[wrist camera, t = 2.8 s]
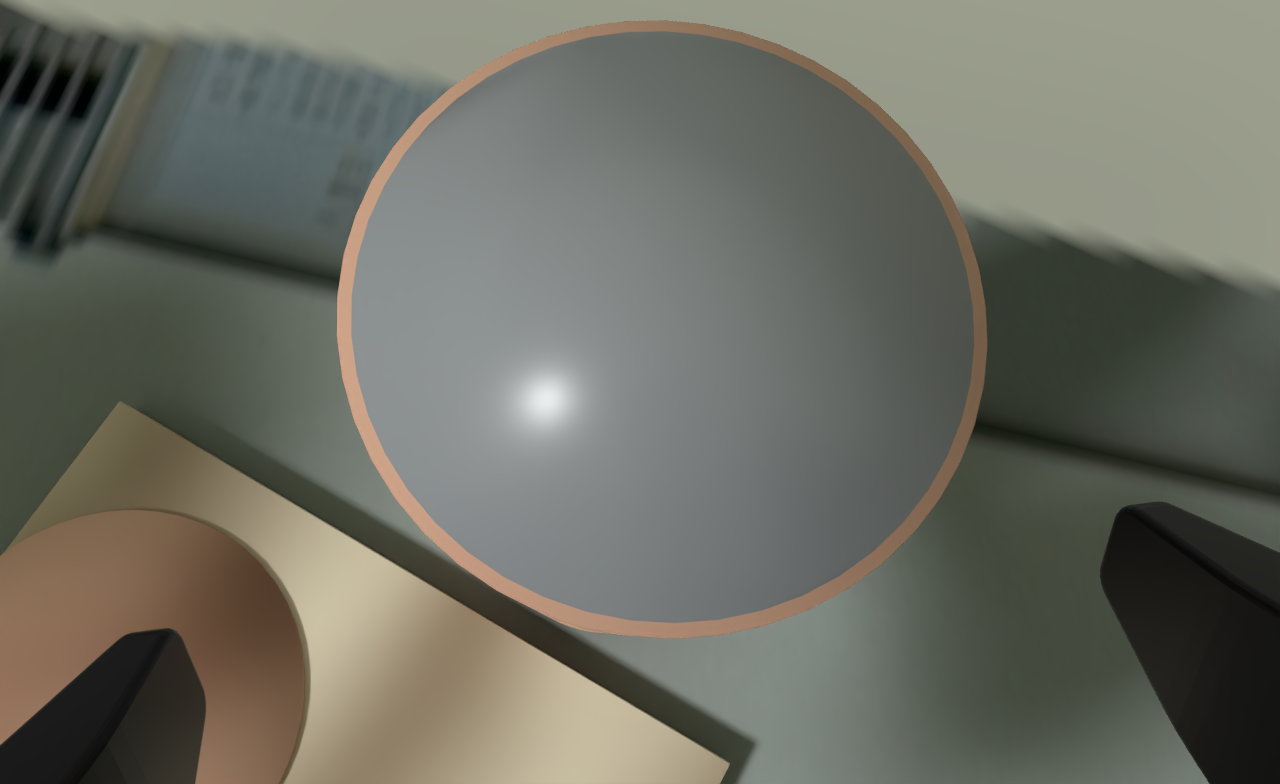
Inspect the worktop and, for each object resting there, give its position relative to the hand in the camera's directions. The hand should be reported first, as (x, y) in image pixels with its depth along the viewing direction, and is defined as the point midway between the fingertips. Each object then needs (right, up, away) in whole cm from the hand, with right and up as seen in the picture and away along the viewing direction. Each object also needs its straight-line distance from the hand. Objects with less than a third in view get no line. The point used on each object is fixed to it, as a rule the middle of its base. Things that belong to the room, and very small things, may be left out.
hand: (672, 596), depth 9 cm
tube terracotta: (-1, 0, +10) cm, 10 cm away
